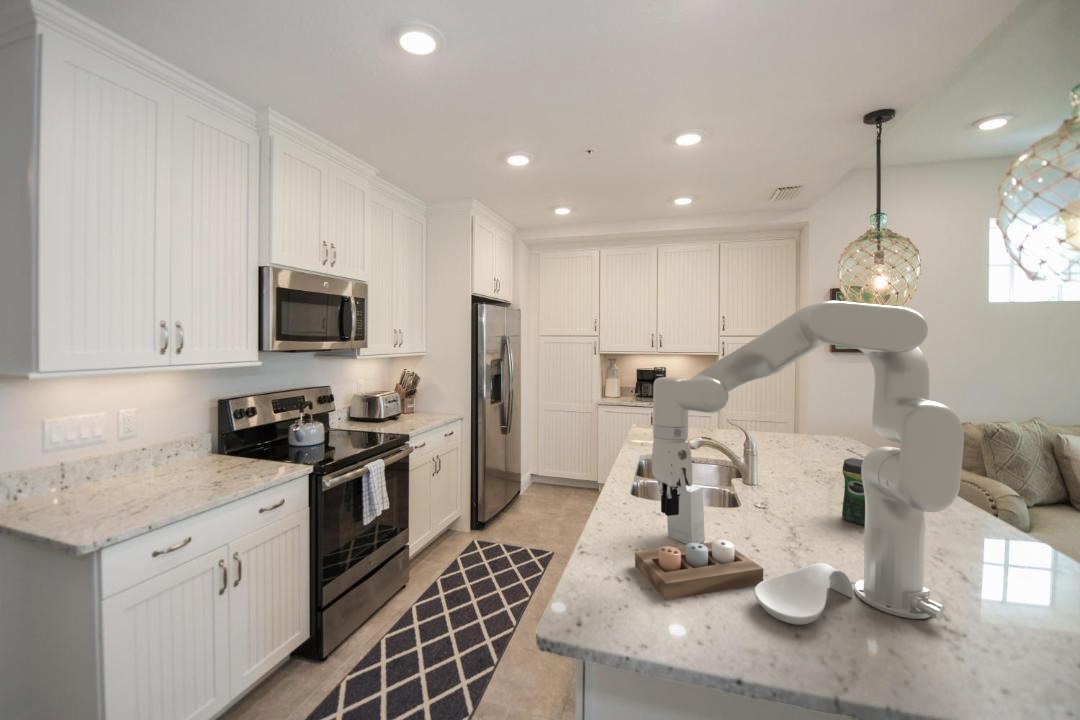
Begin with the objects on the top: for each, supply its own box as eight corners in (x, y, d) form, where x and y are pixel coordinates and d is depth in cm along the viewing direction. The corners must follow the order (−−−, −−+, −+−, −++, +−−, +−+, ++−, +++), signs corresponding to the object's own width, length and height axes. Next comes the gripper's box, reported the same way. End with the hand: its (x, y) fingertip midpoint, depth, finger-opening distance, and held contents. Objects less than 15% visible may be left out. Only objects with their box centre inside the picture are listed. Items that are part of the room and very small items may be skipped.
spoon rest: (798, 643, 76) (798, 604, 76) (741, 607, 87) (741, 572, 87) (871, 607, 87) (872, 572, 87) (812, 578, 97) (813, 547, 97)
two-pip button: (712, 570, 97) (712, 550, 97) (693, 573, 96) (693, 552, 96) (699, 560, 102) (699, 540, 101) (681, 562, 100) (681, 543, 100)
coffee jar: (886, 523, 127) (887, 461, 126) (876, 530, 122) (877, 465, 122) (848, 513, 135) (849, 454, 134) (837, 519, 130) (838, 458, 130)
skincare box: (705, 542, 115) (705, 487, 115) (690, 547, 112) (691, 491, 112) (679, 530, 122) (679, 479, 122) (665, 536, 119) (665, 483, 119)
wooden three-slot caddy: (763, 583, 95) (763, 568, 95) (666, 599, 89) (666, 583, 89) (721, 554, 108) (721, 540, 108) (635, 566, 103) (635, 552, 102)
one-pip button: (738, 566, 99) (739, 546, 99) (720, 568, 97) (720, 549, 97) (724, 556, 103) (725, 537, 103) (707, 558, 102) (707, 539, 102)
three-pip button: (685, 574, 95) (685, 554, 95) (665, 577, 94) (665, 556, 94) (673, 563, 100) (673, 544, 100) (654, 566, 99) (654, 546, 99)
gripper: (706, 438, 89) (705, 525, 90) (667, 425, 104) (666, 500, 105) (674, 440, 88) (673, 529, 88) (639, 427, 102) (638, 503, 103)
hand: (669, 513), depth 97 cm, fingers closed
